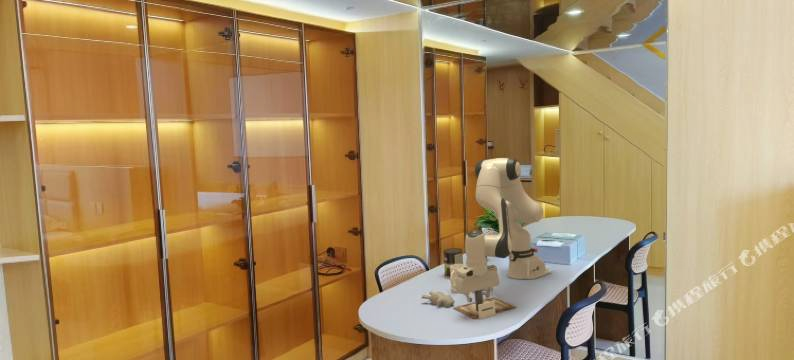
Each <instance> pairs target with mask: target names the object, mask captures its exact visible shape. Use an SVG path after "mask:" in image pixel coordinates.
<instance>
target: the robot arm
mask: <svg viewBox="0 0 794 360" xmlns="http://www.w3.org/2000/svg"><path fill="white" fill-rule="evenodd" d="M521 173H522V167H521V163H520V161H519V160H518V159H517V158H515V157H497V158H489V159H482V160H479V161H478V162H477V163H475V166H474V175H475V178H476V179H477V181H476V186H475V187H476V188H475V201H476V202H477V203H478V205H479V206H481V207H482V208H484V209H486V210H487V211H490V212H493V214H494V217H495V219H496V220H498V229H499V230H498V231H499V233H498V234H485V233H484V231H483V230H481V229H472V230H469V231H468V232H466V235H465V240H464V241H465V242H464V245H465V246H464V249H465V250H464V251H465V255H466V259H465V263H464V264H465V265H464V266H462V267H461V268H459V269H458V270H457V271H456V273H457V274H458V276H457V278H456V291H457V292H456V293H457V294H460V295H464V296H465V298H466V302H467V303H468V304H470V303H473V298H472V297H471V296H470V295H471V294H470V293H472V292H474V291H478V290H482V289H486V288H487V289H488V290H486V292H485V293H484V295H485V299H489V298H491V293H492V292H493V291H492V287H493V288H494V287H499V284H500V279H499V274H498V267H497V265H495V264H491V265H488V257H490V258H491V257H492V258H499V259H506V258H507V257H508V259H509V263H508V269H507V277H509V278H511V279H515V280H536V279H537V278H541V277H544V276H546V275H549V274H552V273H551V270H550V269H548V268H546V264H545V261H544V260H543V259H541V258H540V257H539V256H537V255H536V254H535V253H538V252H539V250H538V248H536V247H534V248H533V247H532V243H531V242H532V241H531V233H530V232H529V231H528V230H527V229H526V228H523V226H522V225H521V223H523V224H526V223H527V224H532V223H539V222H540V221H541V220H542V219H543V216H544V209H543V207H542V205H541V203H539V202H537V201H535V200H534V199H533V198H532V197H530V196H529V195H528V194H527V193H526V191H525V189H524V187H523V185H522V184H523V183H522V181H521V178H520V176H521ZM486 256H487V259H486ZM482 291H483V290H482ZM491 291H492V292H491Z"/></svg>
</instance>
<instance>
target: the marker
mask: <svg viewBox="0 0 794 360" xmlns="http://www.w3.org/2000/svg"><path fill="white" fill-rule="evenodd" d="M474 300H475V301H474V302H475V304H476V311H478V305H479V304H483V300H484V297H483V290H478V291H475V293H474ZM478 312H479V311H478Z"/></svg>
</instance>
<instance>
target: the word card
mask: <svg viewBox="0 0 794 360" xmlns="http://www.w3.org/2000/svg"><path fill="white" fill-rule="evenodd" d="M478 311H479V318H478V319H479V320H482V319H486V318H490V317H493V316H495V315H496V313H495V301H491V302H487V303H483V304H479V305H478Z"/></svg>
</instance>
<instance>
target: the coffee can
mask: <svg viewBox="0 0 794 360" xmlns="http://www.w3.org/2000/svg"><path fill="white" fill-rule="evenodd" d="M442 252H443V263H444V277H445V278H446V279H449V280H450V277H451V274H450V266H451V265H454V264H464V256H463V255H464V254H463V252H464V250H463V248H459V247H449V248H445V249H443V251H442Z"/></svg>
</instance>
